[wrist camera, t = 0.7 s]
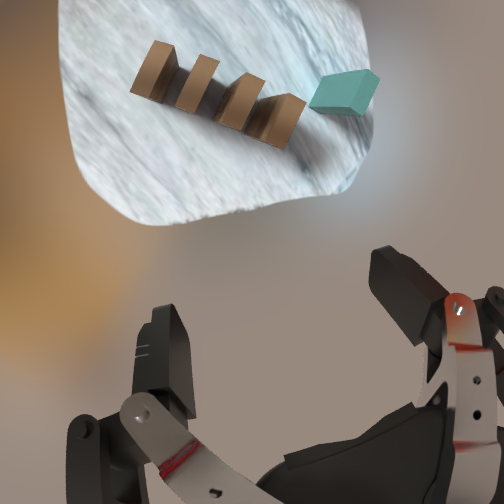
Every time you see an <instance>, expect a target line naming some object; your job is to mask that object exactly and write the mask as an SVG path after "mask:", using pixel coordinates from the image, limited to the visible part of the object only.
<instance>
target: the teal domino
mask: <svg viewBox="0 0 504 504" xmlns="http://www.w3.org/2000/svg"><path fill="white" fill-rule="evenodd" d="M379 81H380V78H378V77H377V76H376V75H375V74H373V73H372V72H371V71H370V70H368V69H364V70H357V71H350V72H344V73H339V74H333V75H328V76H323V78H322V80H321V82H320V84H319V86H318V88H317V90H316V92H315V94H314V96H313V98H312V100H311V102H310V104H309V106H308V107H310V108H312V109H313V110H315V111H317V112H318V113H325V114H340V115H351V116H361V117H363V115H364V113H365V111H366V109H367V107H368V105H369V103H370V101H371V98H372V96H373V94H374V92H375V90H376V87H377V85H378V83H379Z"/></svg>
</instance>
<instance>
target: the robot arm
mask: <svg viewBox="0 0 504 504" xmlns="http://www.w3.org/2000/svg"><path fill="white" fill-rule="evenodd" d="M369 287H370V289H371V292H372V293H373V295H374V296H375V297H376V298H377V300H378V301H379V302H380V303H381V304H382V306H383V307H384V308H385V309H386V311H387V312H388V313H389V314H390V316H391V317H392V318H393V319H394V321H395V322H396V323H397V325H398V326H399V327H400V328H401V330H402V331H403V332H404V334H405V335H406V336H407V337H408V339H409V340H410V341H411V343H412V344H413V345H414V347H415V346H416V345H418V344H420V343H422V342H425V344H426V346H425V349H424V369H423V382H422V390H421V393H420V396H419V399H418V402H417V406H416V408H415V407H414V405H413V404H412V402H410V403H409V404H407V405H405V406H403V407H402V408H400V409H398V410H396V411H394V412H392V413H390V414H388V415H386V416H385V417H383V418H382V419H381V420H380V421H379V422H377V423H376V424H375V425H374V426H372V427H371V428H370V429H369V430H367V431H366V432H365V433H364V434H362V435H361V436H360V437H358V438H356V439H352V440H346V441H340V442H333V443H325V444H318V445H315V446H312V447H309V448H306V449H303V450H300V451H296V452H293V453H289V454H286V455H284V458H285V461H284V462H282V463H280V464H278V465H276V466H275V467H274V468H272V469H271V470H269V471H268V472H267V473H266V474H265V475H264V476H263V477H262V478H261V479H260V480H259V481H258V482H257V484H256V485H255V484H254V483H252V482H251V481H250V480H248V479H247V478H245V477H244V476H243V475H241V474H240V473H239V472H237V471H236V470H234V469H233V468H232V467H231V466H229V465H228V464H227V463H225V462H224V461H223V460H221V459H220V458H219V457H218V456H217V455H216V454H214V453H213V452H212V451H211V450H210V449H208V448H207V447H206V446H205V445H204V444H202V442H200V441H199V440H198V439H197V438H196V437H195V436H194V435H193V434H191V433H190V432H189V431H188V421H187V420H188V419H195V418H196V410H195V401H194V389H193V378H192V366H191V351H190V341H189V337H188V334H187V331H186V329H185V327H184V325H183V323H182V321H181V319H180V317H179V315H178V312H177V310H176V309H175V306H174V305H173V304H168V305H164V306H159V307H155V308H153V311H152V320H151V323H146V324H144V325H143V327H142V329H141V330H140V332H139V334H138V337H137V345H136V346H137V349H136V354H135V356H136V358H135V364H134V373H133V385H132V394H131V396H129V397H128V398H127V399H126V400H125V401H124V402H123V404H122V405H121V408H120V411H119V412H117V413H115V414H113V415H110V416H108V417H105V418H103V419H100V420H97V419H95V418H94V417H92V416H91V415H88V414H83V415H79V416H77V417H76V418H75V419H73V420H72V422H71V423H70V425H69V428H68V432H67V447H66V449H67V450H66V499H67V504H149V499H148V493H147V486H146V478H145V470H144V464H146V463H149V462H153V463H154V464H155V465H156V467H157V468H158V469H159V471H160V473H159V475H160V477H161V478H162V480H163V481H164V482H165V483H166V484H167V485H168V486H169V487H170V488H171V490H172V491H173V492H175V493H176V494H177V495H178V497H179V498H181V499H182V500H183V501H184V502H185V503H186V504H504V427H500V426H497V396H498V397H499V399H500V401H501V403H502V404H503V406H504V349H503V348H502V347H501V345H500V344H499V343H498V341H497V340H496V339H495V337H496V335H497V333H498V332H499V330H501V331H502V332H503V334H504V289H503V288H501V287H497V286H493V287H491V288H489V289H488V291H487V293H486V296H485V298H482V299H477V300H472V299H471V298H469V297H468V296H466V295H464V294H462V293H452V294H450V293H449V292H448V291H447V290H446V289H445V288H444V287H443V286H442V285H440V283H439V282H437V281H436V280H435V279H434V278H433V277H432V276H431V275H430V274H429V273H427V271H425V270H424V269H423V268H422V267H420V265H419V264H418V263H416V261H414V260H413V259H412V258H410V257H408V256H406V255H404V254H400V253H399V252H397V251H396V250H395V249H394V248H393V247H392V246H390V245H388V246H385V247H381V248H378V249H375V250H373V251H372V253H371V263H370V272H369Z"/></svg>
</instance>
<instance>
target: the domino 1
mask: <svg viewBox="0 0 504 504" xmlns="http://www.w3.org/2000/svg"><path fill="white" fill-rule="evenodd" d="M178 67H179V65H178V60H177V56H176V52H175V47H174V45H170V44H167V43H163V42H160V41H156V40H155V41H154V43H153V44H152V46H151V48H150V50H149V52H148V54H147V56H146V58H145V60H144V62H143V64H142V66H141V68H140V70H139V72H138V74H137V76H136V79H135V81H134V83H133V85H132V88H131V90H130V92H131V93H134V94H136V95H139V96H141V97H144V98H146V99H149V100H153V101H156V102H159V103H162V101H163V99H164V96H165V94H166V92H167V90H168V88H169V85H170V83H171V81H172V79H173V77H174V75H175V73H176V71H177V69H178Z"/></svg>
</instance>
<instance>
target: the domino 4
mask: <svg viewBox="0 0 504 504" xmlns="http://www.w3.org/2000/svg"><path fill="white" fill-rule="evenodd" d="M306 103H307V102H305V101H303V100H301V99H300V98H298V97H296V96H294V95H292V94H290V93H287V94H282V95H277V96H272V97H267V98H263V99H261V100H260V102H259V104H258V106H257V108H256V110H255V112H254V115H253V117H252V119H251V121H250V123H249V125H248V127H247V129H246V131H245V133H244V134H245V135H248V136H250V137H252V138H255V139H257V140H259V141H262V142H265V143H267V144H270V145H273V146H275V147H278V148H280V149H283V150H284V148H285V145H286V143H287V141H288V139H289V137H290V135H291V133H292V131H293V129H294V127H295V125H296V123H297V121H298V119H299V117H300V115H301V113H302V111H303V109H304V107H305V105H306Z"/></svg>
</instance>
